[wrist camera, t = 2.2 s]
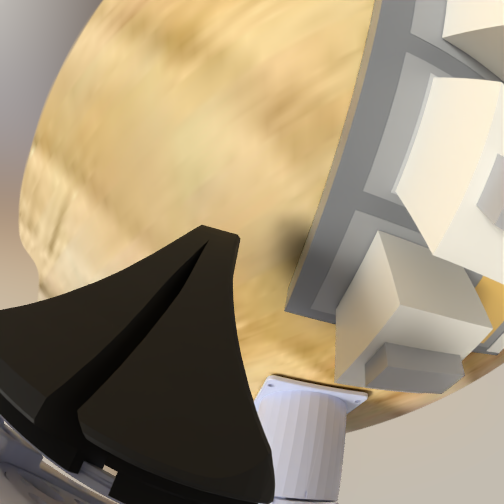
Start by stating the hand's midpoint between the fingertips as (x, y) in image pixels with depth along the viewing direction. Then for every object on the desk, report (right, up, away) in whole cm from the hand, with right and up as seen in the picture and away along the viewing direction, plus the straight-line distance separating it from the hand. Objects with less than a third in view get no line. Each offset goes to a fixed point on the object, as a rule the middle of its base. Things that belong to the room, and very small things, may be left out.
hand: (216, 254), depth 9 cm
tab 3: (+7, -1, 0) cm, 7 cm away
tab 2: (+8, +3, -3) cm, 9 cm away
